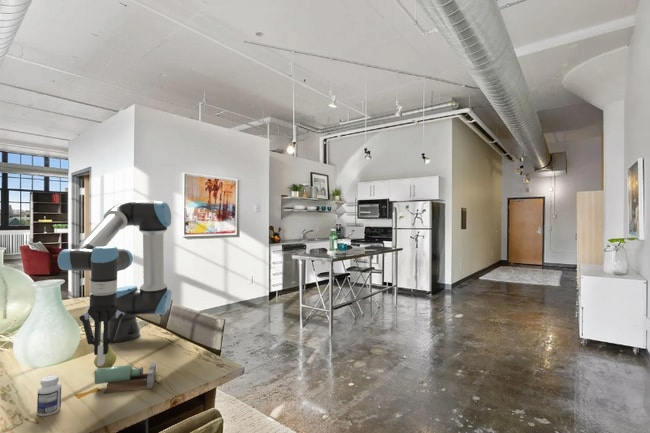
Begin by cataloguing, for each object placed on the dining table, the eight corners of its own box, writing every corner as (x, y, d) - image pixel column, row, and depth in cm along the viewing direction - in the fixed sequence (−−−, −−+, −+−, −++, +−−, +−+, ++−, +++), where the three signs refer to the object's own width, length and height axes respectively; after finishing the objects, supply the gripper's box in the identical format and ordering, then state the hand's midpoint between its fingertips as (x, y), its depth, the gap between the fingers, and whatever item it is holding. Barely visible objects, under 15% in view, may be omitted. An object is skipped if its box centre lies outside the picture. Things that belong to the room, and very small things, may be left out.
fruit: (111, 372, 127) (112, 339, 127) (88, 372, 126) (89, 339, 126) (119, 364, 133) (120, 333, 133) (97, 365, 132) (98, 333, 132)
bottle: (99, 366, 118) (144, 362, 122) (98, 381, 117) (143, 377, 121) (95, 370, 113) (141, 365, 117) (94, 386, 112) (140, 380, 117)
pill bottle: (45, 406, 103) (46, 373, 103) (64, 406, 104) (66, 373, 104) (32, 417, 98) (33, 382, 98) (52, 416, 98) (53, 382, 98)
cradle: (111, 380, 120) (111, 366, 120) (155, 376, 125) (156, 362, 125) (103, 393, 112) (104, 377, 112) (151, 388, 116) (152, 373, 116)
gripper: (76, 296, 110) (73, 370, 110) (122, 294, 114) (120, 366, 114) (84, 291, 117) (82, 361, 117) (128, 290, 121) (125, 357, 121)
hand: (100, 363), depth 115 cm, fingers closed
